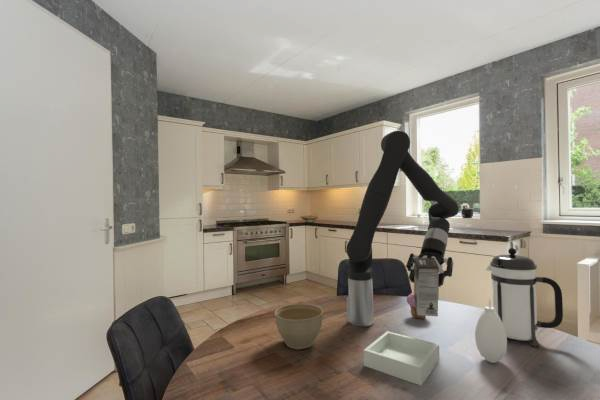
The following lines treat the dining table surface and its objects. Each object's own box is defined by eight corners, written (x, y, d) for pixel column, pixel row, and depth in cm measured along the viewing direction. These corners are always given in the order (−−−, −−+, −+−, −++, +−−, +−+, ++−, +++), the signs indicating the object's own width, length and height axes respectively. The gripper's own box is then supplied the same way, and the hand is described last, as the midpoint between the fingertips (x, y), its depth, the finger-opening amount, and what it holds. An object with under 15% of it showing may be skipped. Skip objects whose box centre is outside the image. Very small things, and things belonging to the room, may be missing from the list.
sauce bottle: (509, 370, 84) (507, 304, 84) (476, 364, 88) (474, 300, 88) (506, 357, 91) (504, 296, 91) (475, 352, 95) (473, 293, 95)
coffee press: (519, 353, 93) (516, 253, 94) (478, 331, 109) (476, 246, 109) (565, 345, 97) (562, 250, 97) (519, 326, 113) (517, 243, 113)
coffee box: (413, 302, 106) (413, 257, 104) (433, 303, 105) (433, 257, 102) (417, 315, 97) (417, 266, 95) (439, 317, 96) (439, 267, 94)
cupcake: (406, 319, 122) (405, 294, 122) (408, 312, 130) (407, 288, 130) (431, 322, 118) (430, 296, 118) (431, 314, 126) (430, 290, 126)
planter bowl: (333, 341, 104) (332, 309, 104) (300, 360, 93) (299, 324, 93) (298, 329, 115) (297, 300, 115) (265, 344, 104) (264, 312, 104)
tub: (364, 365, 89) (363, 349, 89) (387, 344, 101) (387, 331, 101) (421, 385, 78) (420, 367, 78) (439, 359, 91) (438, 344, 91)
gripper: (411, 235, 112) (400, 273, 103) (454, 238, 103) (445, 280, 94) (417, 248, 116) (406, 286, 107) (458, 252, 107) (450, 293, 98)
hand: (424, 283), depth 101 cm, fingers closed on coffee box, 8 cm apart
